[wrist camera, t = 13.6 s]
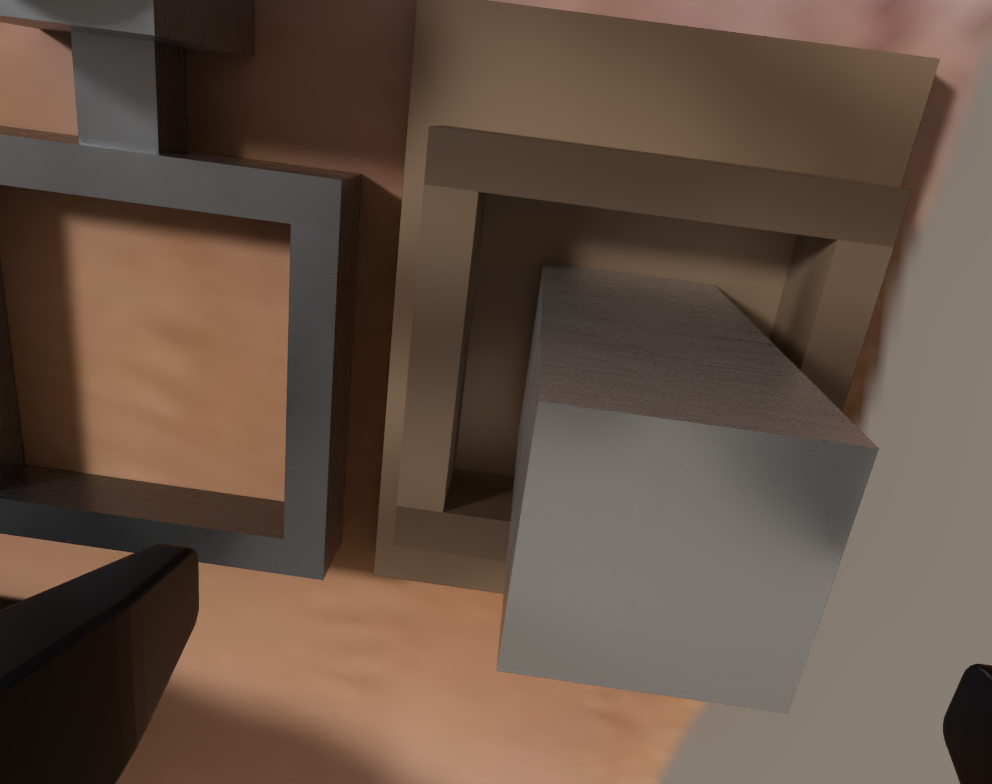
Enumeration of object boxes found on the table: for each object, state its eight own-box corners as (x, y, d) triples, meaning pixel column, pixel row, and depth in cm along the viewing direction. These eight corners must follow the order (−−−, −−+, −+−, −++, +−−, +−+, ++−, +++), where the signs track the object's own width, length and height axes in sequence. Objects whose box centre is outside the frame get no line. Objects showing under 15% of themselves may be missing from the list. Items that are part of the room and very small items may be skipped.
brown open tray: (754, 610, 23) (788, 691, 20) (380, 556, 23) (353, 628, 20) (919, 62, 18) (1004, 48, 14) (424, -2, 18) (396, -29, 15)
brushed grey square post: (677, 440, 20) (787, 713, 11) (520, 418, 20) (496, 671, 11) (713, 284, 19) (878, 448, 9) (543, 261, 19) (538, 401, 9)
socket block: (341, 543, 23) (289, 648, 19) (-9, 492, 24) (-146, 585, 19) (382, -198, 16) (316, -324, 12) (-112, -260, 17) (-368, -406, 12)
